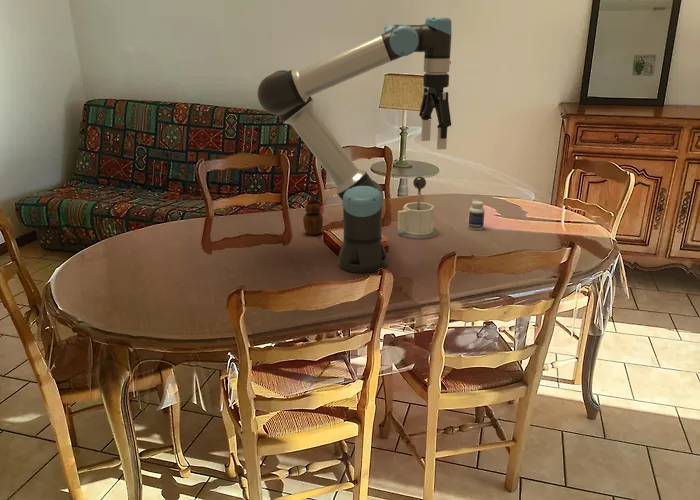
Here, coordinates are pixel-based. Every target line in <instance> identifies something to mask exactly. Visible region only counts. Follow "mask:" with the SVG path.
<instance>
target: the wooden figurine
mask: <svg viewBox="0 0 700 500" xmlns="http://www.w3.org/2000/svg"><path fill="white" fill-rule="evenodd" d="M320 210H321V207H320V204H319V192H317V191H316V195H315V196H314V193H313V194H312V197H309V199H307V203H306V205H305V212H306V213H305V214H304V215H303V227H304V231H305V232H306V234H307V235H311V236H315V235H319V234H321V232H322V229H323V224H324V221H323V220H324V218H323V215H322V214H321V213H320Z"/></svg>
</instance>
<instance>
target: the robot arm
mask: <svg viewBox="0 0 700 500" xmlns="http://www.w3.org/2000/svg"><path fill="white" fill-rule="evenodd" d="M383 30H384V32H383V33H382V34H379V35H377V36H375V37H372V38H370V39H368V40H366V41H364V42H362V43H359V44H357V45H354V46H351V47H350V48H347V49H345V50H343V51H341V52H339V53H335V54H333V55H332V56H329V57H327V58H324V59H322V60H320V61H317V62H315V63H313V64H311V65H308V66H306V67H304V68H302V69H299V70H297V69H294V68H293V69H290V70H283V69H281V70H276V71H275V72H273V73H271V74H269V75H268V76H266V77H264V78H263V79H262V80H261V81H260V83H259V84H258V88H257V99H258V102H259V105H260V106H261V107H262V109H263V110H264V111H266V112H267V113H269V114H271V115H275V116H277V117H278V118H279V119H280V121H281V122H282V123H283V124H286V125H290V127H291V126H292V128H293V130H294V131H295V132H296V134H297V135H298V136H299V138H300V139H301V140H302V142H303V143H304V144H305V145H306V147H307V148H308V149H309V150H310V152H311V153H312V154H313V156H314V157H315V159H316V160H317V161H318V163H319V164H320V166H321V167H322V168H323V169H324V171H325V172H326V173H327V175H328V176H329V177H330V179H331V180H332V181H333V183H335V185H336V191H335V193H336V194H337V195H338V197H339V198H340V200H341V201H342V208H343V211H342V213H343V214H342V215H343V218H342V219H343V241H342V244H341V247H340V250H339V253H338V258H337V259H338V260H337V262H338V263H337V264H338V266H339V268H341V269H342V270H344V271H347V272H350V273H357V274H358V273H359V274H364V273H365V274H367V273H368V274H369V273H374V272H378V269H379V268H383V269H384V268H385V267H387V264H388V256H387V252H386V251H385V247H384V244H383V241H382V225H383V224H382V219H383V218H382V216H383V204H384V193H383V189H382V187H381V186H380V185H379V183H378V182H377V181H375V180H374V179H372V178H371V177H370V174H368V173H367V171H366V170H364V169H363V170H362V169H358V167H357V165H356V164H355V163H354V162H353V160H352V159H351V158H350V156H349V155H348V154H347V152H346V151H345V150H344V148H343V146H342V145H341V144H340V143H339V142H338V140H337V139H336V137H335V136H334V134H333V133H332V132H331V131H330V129H329V128H328V126H327V125H326V124H325V122H324V121H323V120H322V118H321V117H320V116H319V114H318V113H317V112H316V110H315V109H314V106H313V105H314V99H313V98H312V96H314V95H315V94H318V93H321V92H323V91H325V90H327V89H330V88H332V87H334V86H338V85H339V84H341V83H344V82H346V81H348V80H351V79H353V78H356V77H357V76H361V75H362V74H364V73H367V72H369V71H371V70H375V69H376V68H379V67H381V66H384V65H386V64H388V63H390V62H393V61H396V60H398V59H400V58H403V57H406V56H407V57H408V56H409V55H412V54H414V53H424V57H423V72H424V75H423V79H422V80H423V84H422V85H423V87H424V88H423V96H422V100H421V104H420V110H419V117H420V118H421V137H420V139H421V142H425V141H426V142H428V141H431V131H432V130H431V126H432V125H431V124H432V123H431V122H432V113H433V110H434V109H435V114H436V117H437V122H438V125H437V126H436V127H437V138H436V139H437V140H436V150H447V143H448V142H447V141H448V140H447V139H448V128H449V127H452V119H451V111H450V103H449V92H448V91H447V92H446V91H445V92H444V89H445V88H448V87H449V84H450V74H448V73H449V72H450V65H451V64H452V61H451V60H450V59H451V48H452V35H453V34H452V19H451V18H449V17H442V16H441V17H438V16H437V17H426V18H425V22H424V24H389V25H386V26H384V29H383Z"/></svg>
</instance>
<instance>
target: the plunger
mask: <svg viewBox="0 0 700 500" xmlns="http://www.w3.org/2000/svg"><path fill="white" fill-rule="evenodd" d="M412 183H413V186H414V188H415V189H417V202H418V203H417V210H419V211H420V202H421V197H422V196H421V195H422V190H423V189H424V188H425V187H426V186H427V185H426V184H427V181H426V178H425V177H424V176H419V175H418V176H417V177H414V179H413V182H412Z"/></svg>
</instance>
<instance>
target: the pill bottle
mask: <svg viewBox="0 0 700 500" xmlns="http://www.w3.org/2000/svg"><path fill="white" fill-rule="evenodd" d="M484 220H485V208H484V201H481V200H472V202H471V206H470V207H469V211H468V222H467V223H468V224H467V225H468V226H467V228H468V229H470V230H473V231H481V230H483V229H484Z"/></svg>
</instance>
